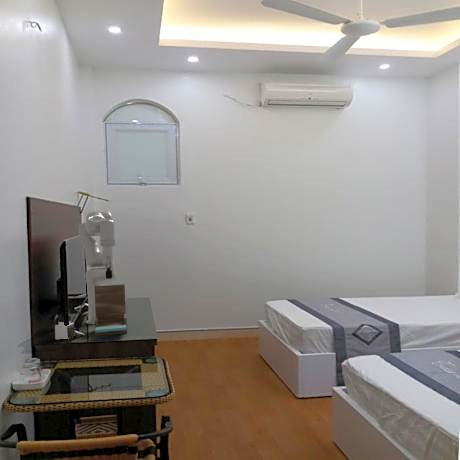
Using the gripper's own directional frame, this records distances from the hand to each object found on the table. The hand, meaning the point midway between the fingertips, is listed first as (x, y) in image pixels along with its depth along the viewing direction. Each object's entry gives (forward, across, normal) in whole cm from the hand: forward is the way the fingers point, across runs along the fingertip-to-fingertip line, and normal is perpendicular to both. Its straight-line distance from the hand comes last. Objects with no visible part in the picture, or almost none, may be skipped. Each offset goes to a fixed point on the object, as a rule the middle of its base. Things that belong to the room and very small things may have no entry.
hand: (109, 278), depth 260 cm
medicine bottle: (+29, +1, -23) cm, 37 cm away
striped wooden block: (+29, -4, 0) cm, 29 cm away
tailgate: (+25, +4, 0) cm, 25 cm away
